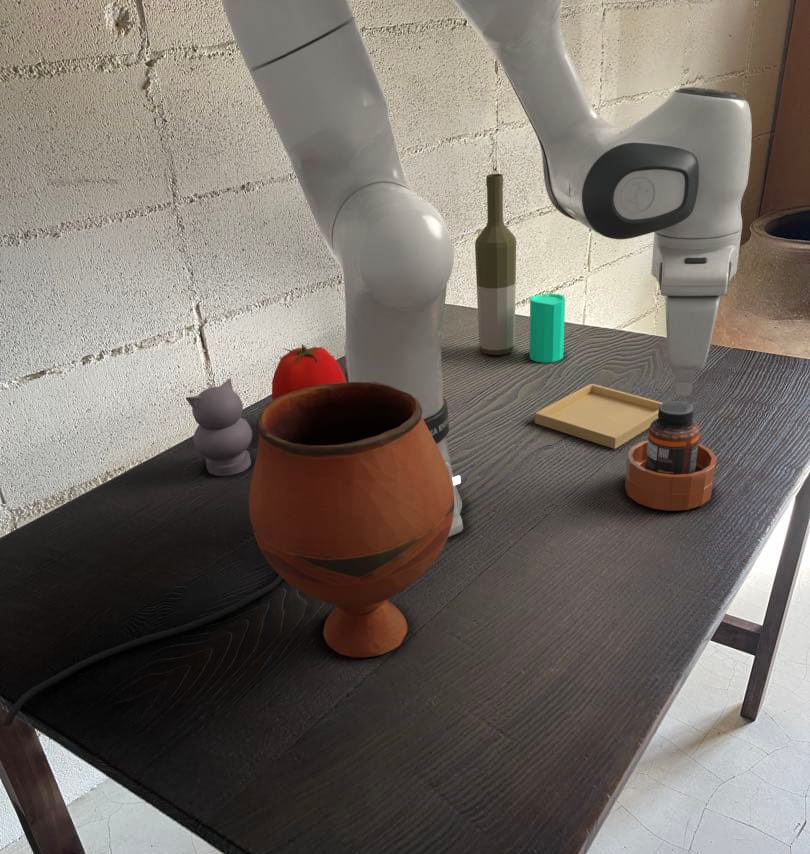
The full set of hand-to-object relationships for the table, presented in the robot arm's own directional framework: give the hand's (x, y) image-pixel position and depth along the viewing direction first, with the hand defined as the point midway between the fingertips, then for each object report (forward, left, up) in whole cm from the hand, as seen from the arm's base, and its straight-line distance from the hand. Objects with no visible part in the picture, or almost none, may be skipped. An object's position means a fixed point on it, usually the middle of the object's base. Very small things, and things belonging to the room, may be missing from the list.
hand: (683, 377), depth 96 cm
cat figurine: (-32, +52, -15) cm, 63 cm away
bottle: (+26, +51, -15) cm, 59 cm away
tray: (+13, +19, -15) cm, 28 cm away
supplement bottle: (0, 0, -15) cm, 15 cm away
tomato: (-16, +52, -15) cm, 57 cm away
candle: (+29, +42, -15) cm, 53 cm away
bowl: (0, 0, -15) cm, 15 cm away
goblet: (-44, +8, -15) cm, 48 cm away
